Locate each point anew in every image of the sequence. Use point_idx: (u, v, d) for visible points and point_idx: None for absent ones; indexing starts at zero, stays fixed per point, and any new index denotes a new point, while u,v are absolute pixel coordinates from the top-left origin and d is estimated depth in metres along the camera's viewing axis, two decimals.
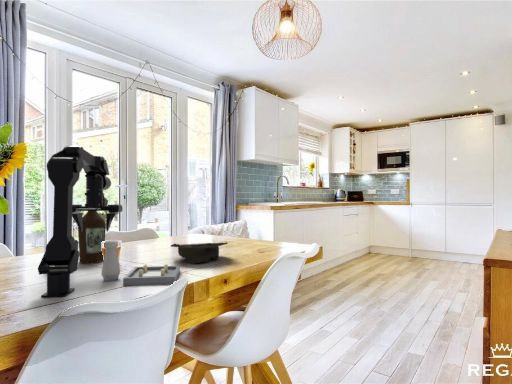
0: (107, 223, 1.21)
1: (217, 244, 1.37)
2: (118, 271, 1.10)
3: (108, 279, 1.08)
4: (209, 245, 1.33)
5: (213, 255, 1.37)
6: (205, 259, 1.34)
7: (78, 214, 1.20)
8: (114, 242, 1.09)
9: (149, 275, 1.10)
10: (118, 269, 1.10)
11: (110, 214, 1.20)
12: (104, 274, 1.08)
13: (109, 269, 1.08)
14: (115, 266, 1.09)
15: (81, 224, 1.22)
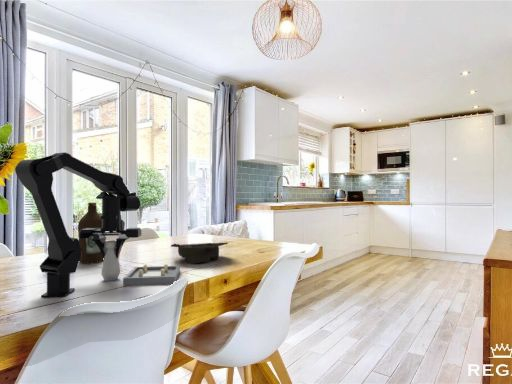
0: (117, 249, 1.09)
1: (217, 244, 1.37)
2: (118, 271, 1.10)
3: (108, 279, 1.08)
4: (209, 245, 1.33)
5: (213, 255, 1.37)
6: (205, 259, 1.34)
7: (102, 239, 1.09)
8: (114, 242, 1.09)
9: (149, 275, 1.10)
10: (118, 269, 1.10)
11: (120, 240, 1.08)
12: (104, 274, 1.08)
13: (109, 269, 1.08)
14: (115, 265, 1.09)
15: (105, 250, 1.10)
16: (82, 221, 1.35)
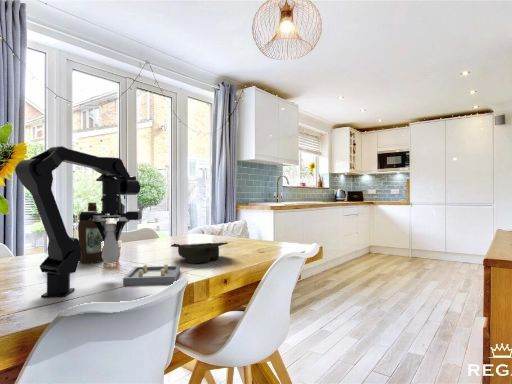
0: (117, 232, 1.09)
1: (217, 244, 1.37)
2: (118, 254, 1.10)
3: (108, 261, 1.08)
4: (209, 245, 1.33)
5: (213, 255, 1.37)
6: (205, 259, 1.34)
7: (102, 222, 1.09)
8: (114, 225, 1.09)
9: (149, 275, 1.10)
10: (118, 252, 1.10)
11: (121, 222, 1.08)
12: (104, 256, 1.08)
13: (109, 252, 1.08)
14: (116, 248, 1.09)
15: (105, 233, 1.10)
16: (82, 221, 1.35)
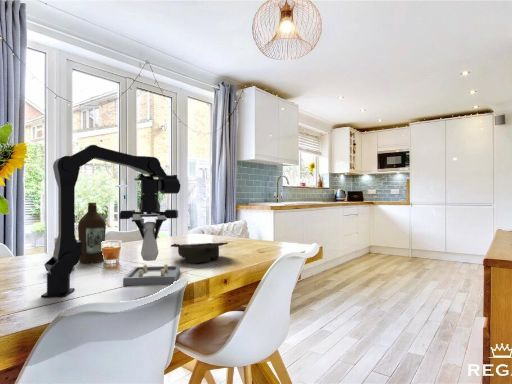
0: (156, 230, 1.11)
1: (217, 244, 1.37)
2: (157, 251, 1.12)
3: (148, 259, 1.10)
4: (209, 245, 1.33)
5: (213, 255, 1.37)
6: (205, 259, 1.34)
7: (141, 220, 1.10)
8: (153, 223, 1.11)
9: (149, 275, 1.10)
10: (157, 250, 1.12)
11: (160, 220, 1.10)
12: (144, 254, 1.10)
13: (148, 249, 1.10)
14: (154, 246, 1.11)
15: (143, 231, 1.12)
16: (82, 221, 1.35)
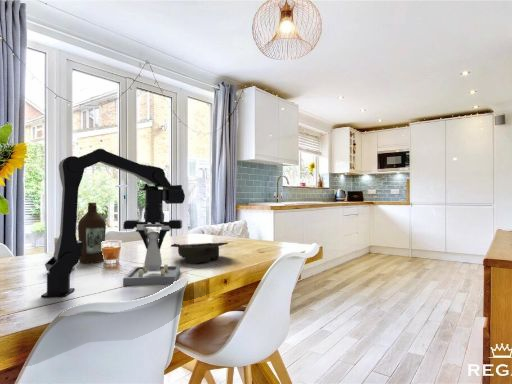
0: (160, 240, 1.11)
1: (217, 244, 1.37)
2: (160, 262, 1.12)
3: (151, 269, 1.10)
4: (209, 245, 1.33)
5: (213, 255, 1.37)
6: (205, 259, 1.34)
7: (145, 230, 1.10)
8: (157, 233, 1.11)
9: (149, 275, 1.10)
10: (160, 260, 1.12)
11: (164, 231, 1.10)
12: (147, 264, 1.09)
13: (152, 260, 1.10)
14: (158, 256, 1.11)
15: (147, 241, 1.12)
16: (82, 221, 1.35)
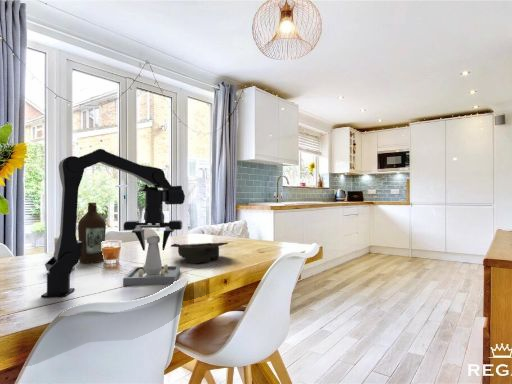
0: (164, 241, 1.11)
1: (217, 244, 1.37)
2: (160, 266, 1.12)
3: (151, 273, 1.10)
4: (209, 245, 1.33)
5: (213, 255, 1.37)
6: (205, 259, 1.34)
7: (141, 231, 1.10)
8: (156, 237, 1.11)
9: (149, 275, 1.10)
10: (160, 264, 1.12)
11: (168, 232, 1.10)
12: (147, 269, 1.09)
13: (152, 264, 1.10)
14: (158, 260, 1.11)
15: (144, 242, 1.12)
16: (82, 221, 1.35)
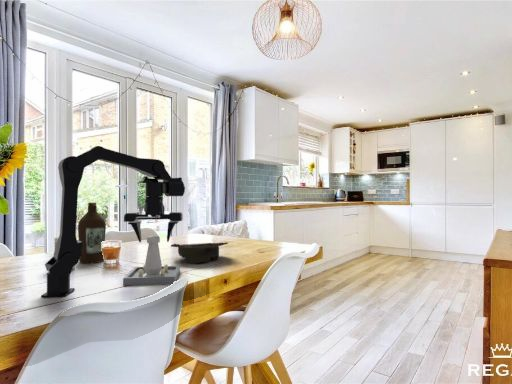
0: (168, 232, 1.11)
1: (217, 244, 1.37)
2: (160, 266, 1.12)
3: (151, 274, 1.10)
4: (209, 245, 1.33)
5: (213, 255, 1.37)
6: (205, 259, 1.34)
7: (137, 223, 1.10)
8: (156, 237, 1.11)
9: (149, 275, 1.10)
10: (160, 264, 1.12)
11: (172, 223, 1.10)
12: (147, 269, 1.09)
13: (152, 264, 1.10)
14: (158, 260, 1.11)
15: (140, 234, 1.12)
16: (82, 221, 1.35)
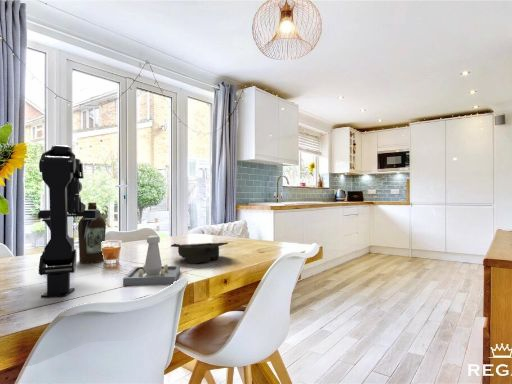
0: (83, 229, 1.14)
1: (217, 244, 1.37)
2: (160, 266, 1.12)
3: (151, 274, 1.10)
4: (209, 245, 1.33)
5: (213, 255, 1.37)
6: (205, 259, 1.34)
7: None
8: (156, 237, 1.11)
9: (149, 275, 1.10)
10: (160, 264, 1.12)
11: (86, 220, 1.13)
12: (147, 269, 1.09)
13: (152, 264, 1.10)
14: (158, 260, 1.11)
15: None
16: None
